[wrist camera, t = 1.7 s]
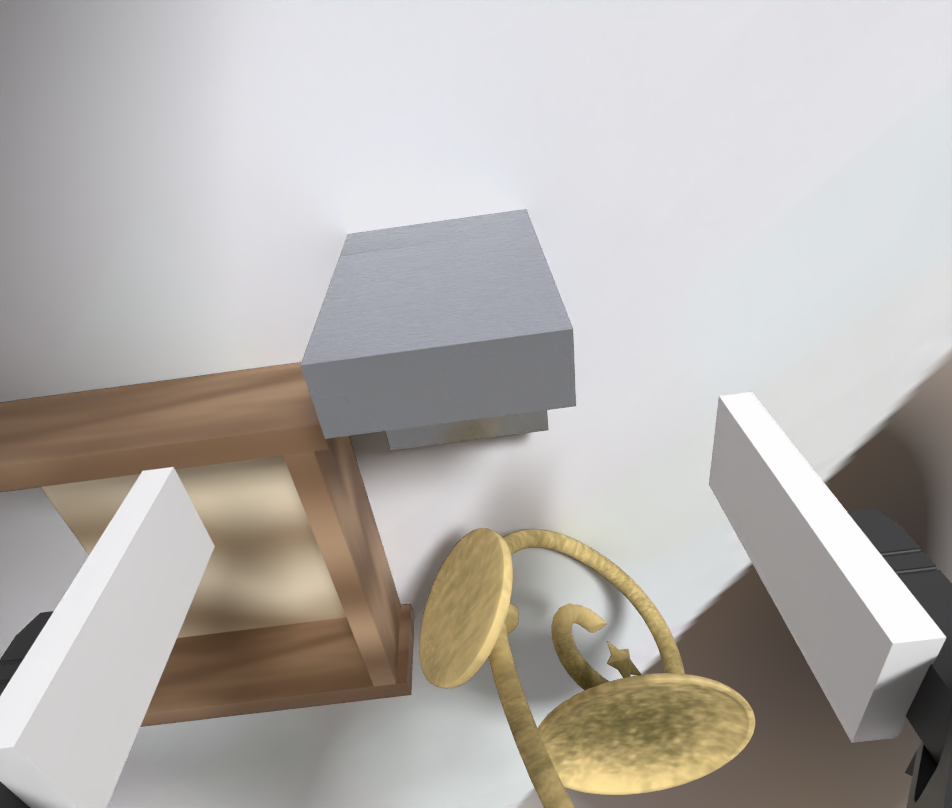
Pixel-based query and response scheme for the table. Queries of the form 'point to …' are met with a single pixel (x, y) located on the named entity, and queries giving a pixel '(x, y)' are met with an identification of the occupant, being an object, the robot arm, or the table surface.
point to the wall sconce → (579, 680)
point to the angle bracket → (441, 334)
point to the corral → (234, 534)
